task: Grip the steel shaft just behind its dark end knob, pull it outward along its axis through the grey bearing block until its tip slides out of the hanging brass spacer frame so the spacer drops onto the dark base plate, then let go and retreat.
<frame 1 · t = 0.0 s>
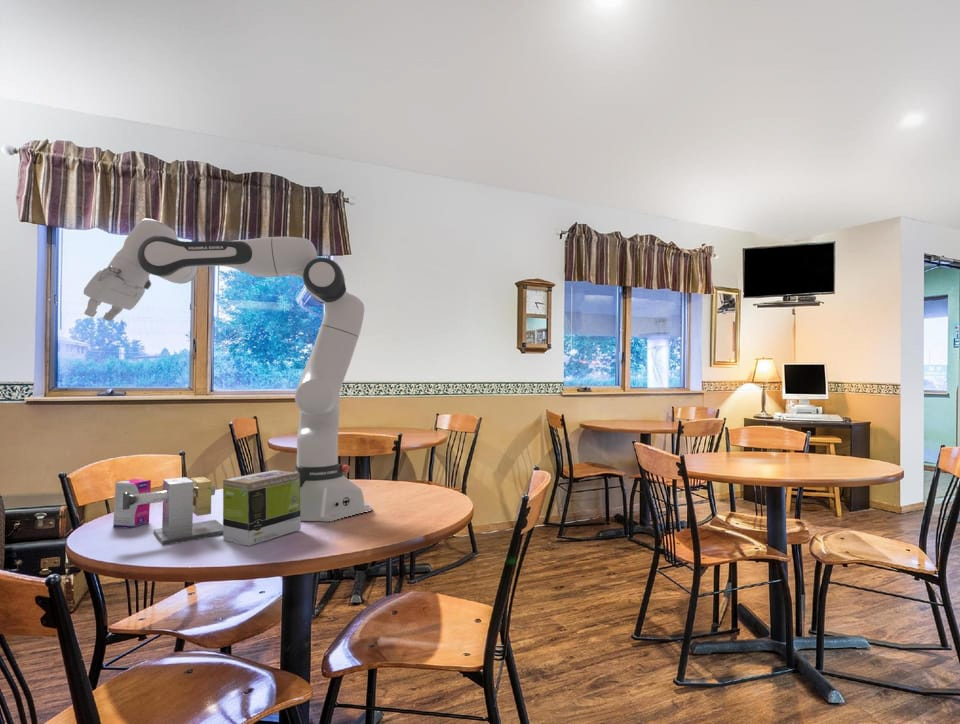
hand: (98, 317, 137), 54 cm above the table, tool tilted 30°, fingers open, 8 cm apart
supplement box: (131, 525, 136), on the table
tea box: (262, 536, 127), on the table
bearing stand: (190, 533, 128), on the table
spacer: (200, 511, 130), point 5 cm above the table, touching shaft
shaft: (170, 495, 126), point 10 cm above the table, slide at 0.0 cm, touching spacer
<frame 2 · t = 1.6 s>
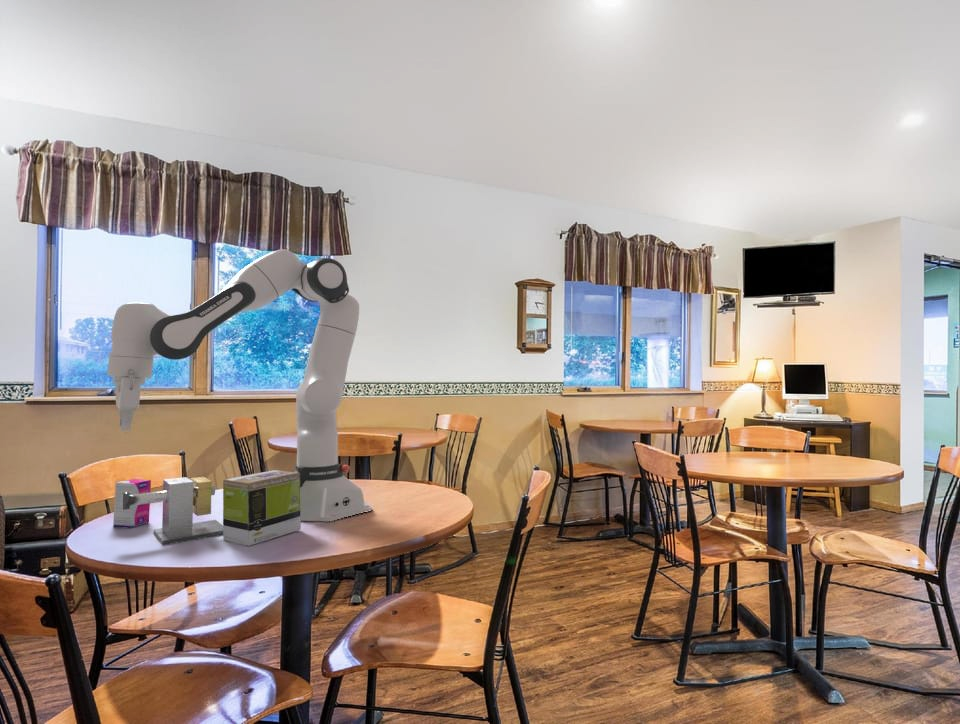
hand: (124, 428, 122), 26 cm above the table, tool pointing down, fingers open, 8 cm apart
nothing on the table moved.
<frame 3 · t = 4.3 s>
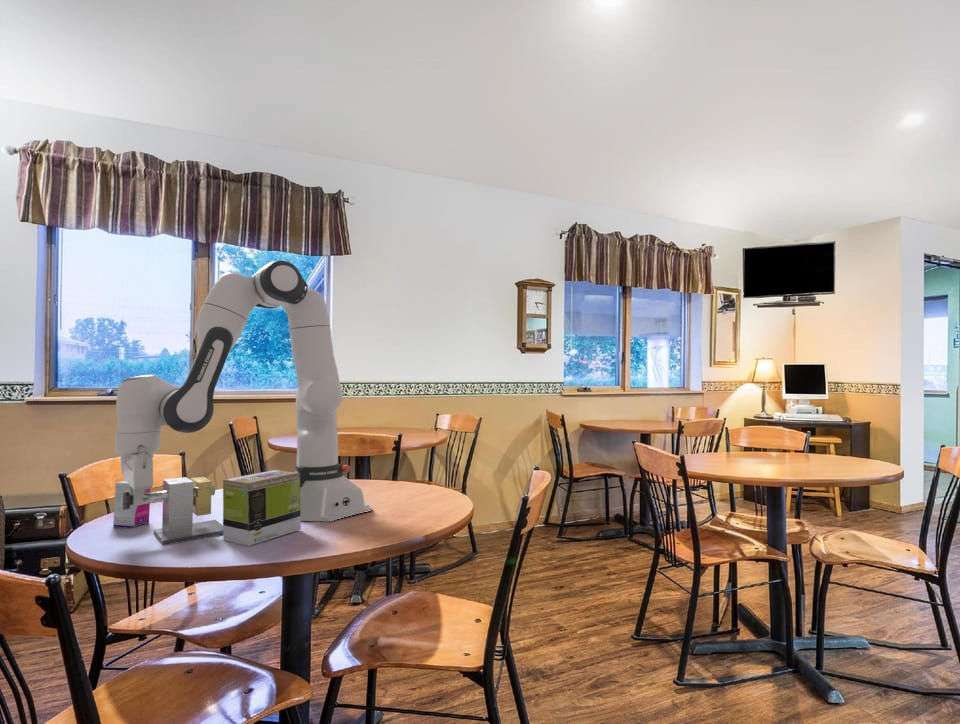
hand: (136, 503, 121), 9 cm above the table, tool pointing down, fingers closed on shaft, 2 cm apart
shaft: (170, 495, 126), point 10 cm above the table, slide at 0.0 cm, touching gripper, spacer
everything else where it was.
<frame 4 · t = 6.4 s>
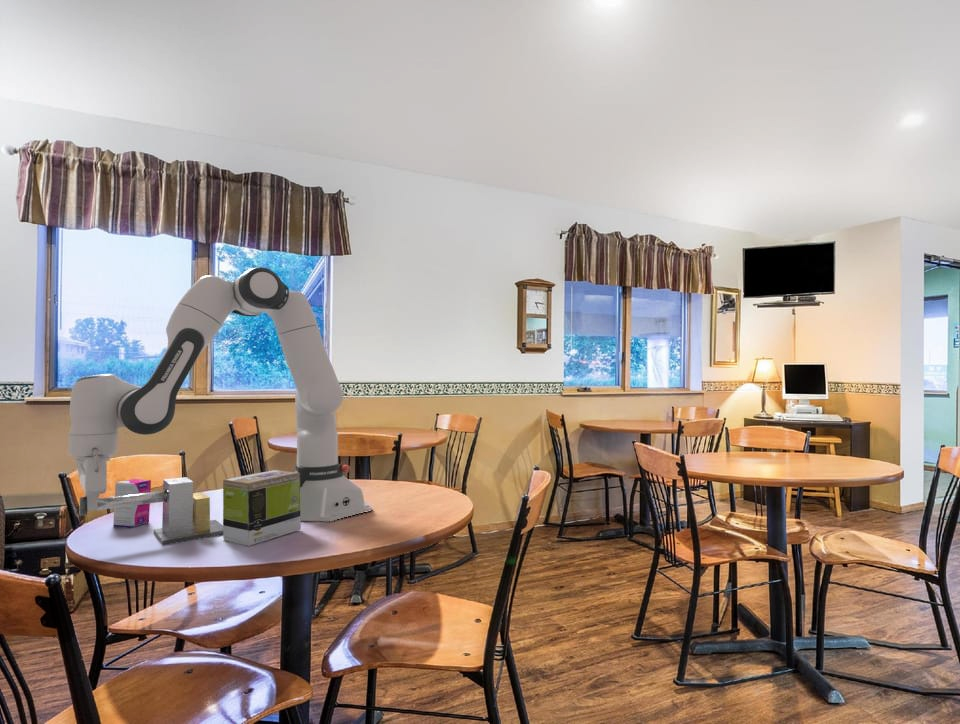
hand: (91, 508, 116), 9 cm above the table, tool pointing down, fingers closed on shaft, 2 cm apart
spacer: (199, 527, 129), point 1 cm above the table, touching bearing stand
shaft: (131, 500, 121), point 10 cm above the table, slide at 7.8 cm, touching gripper
everything else where it was.
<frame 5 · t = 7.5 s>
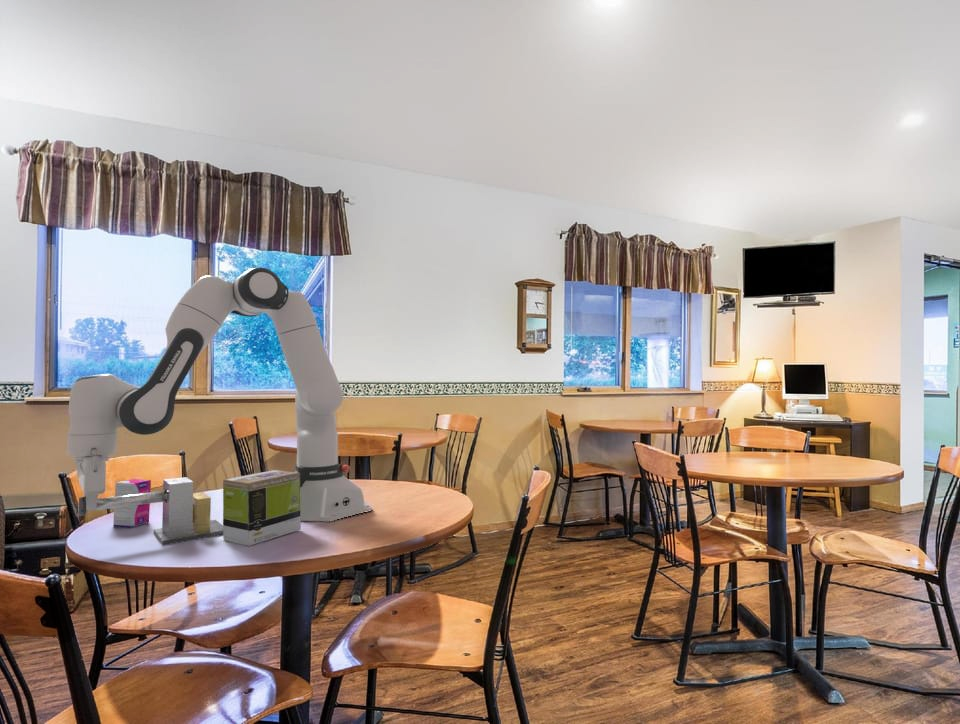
hand: (90, 508, 115), 9 cm above the table, tool pointing down, fingers closed on shaft, 2 cm apart
shaft: (130, 500, 120), point 10 cm above the table, slide at 8.0 cm, touching gripper
everything else where it was.
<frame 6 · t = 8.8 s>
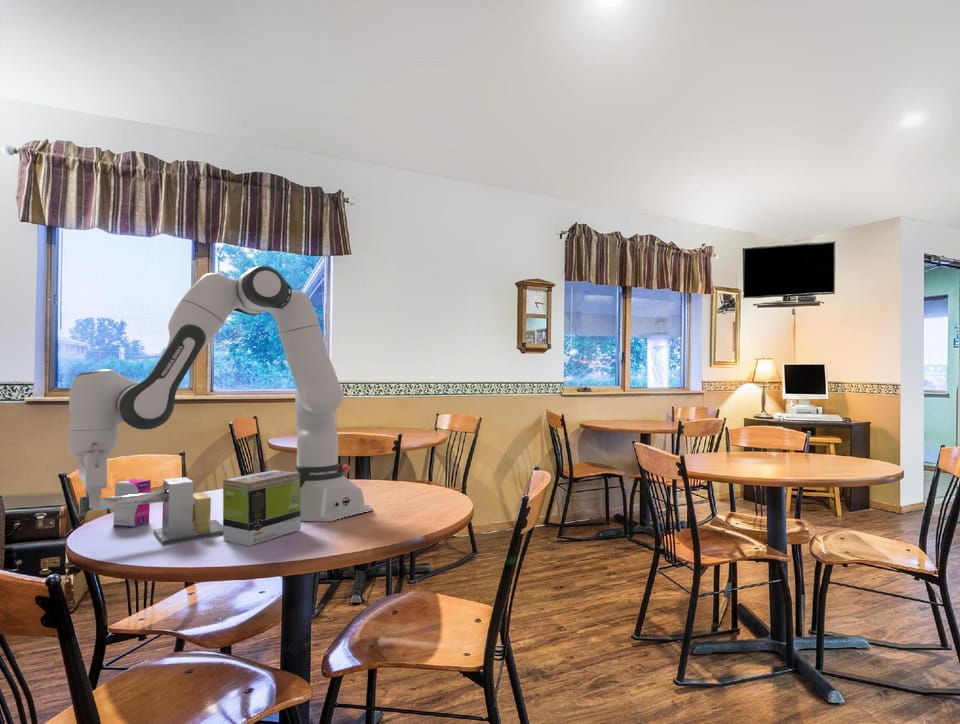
hand: (92, 504, 116), 10 cm above the table, tool pointing down, fingers open, 8 cm apart
shaft: (131, 500, 120), point 10 cm above the table, slide at 7.8 cm
everything else where it was.
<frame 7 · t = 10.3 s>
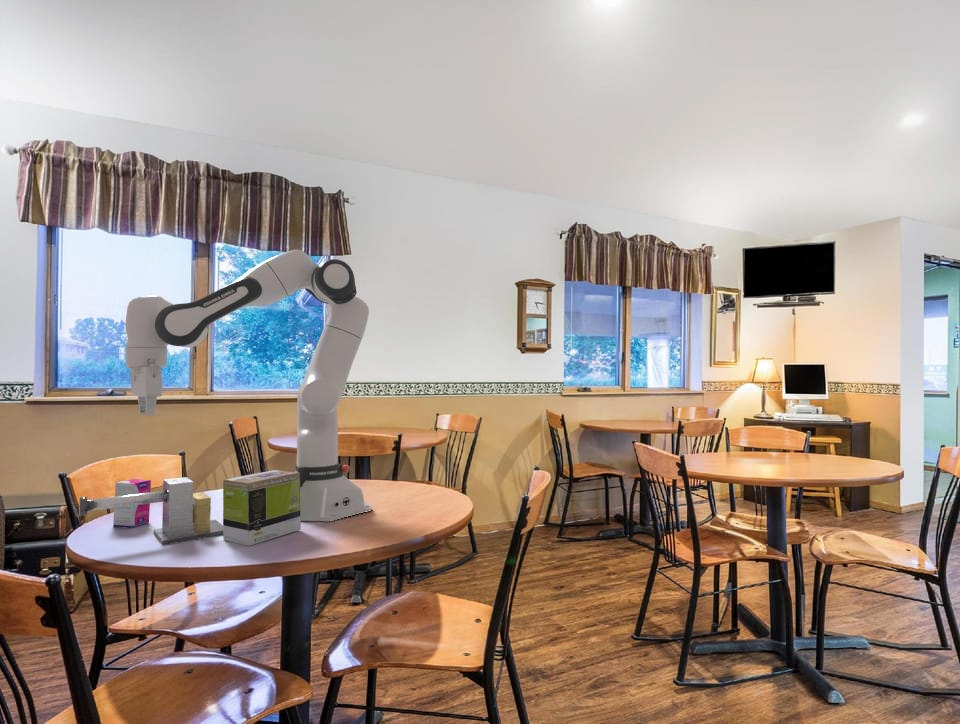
hand: (147, 414, 131), 29 cm above the table, tool pointing down, fingers open, 8 cm apart
nothing on the table moved.
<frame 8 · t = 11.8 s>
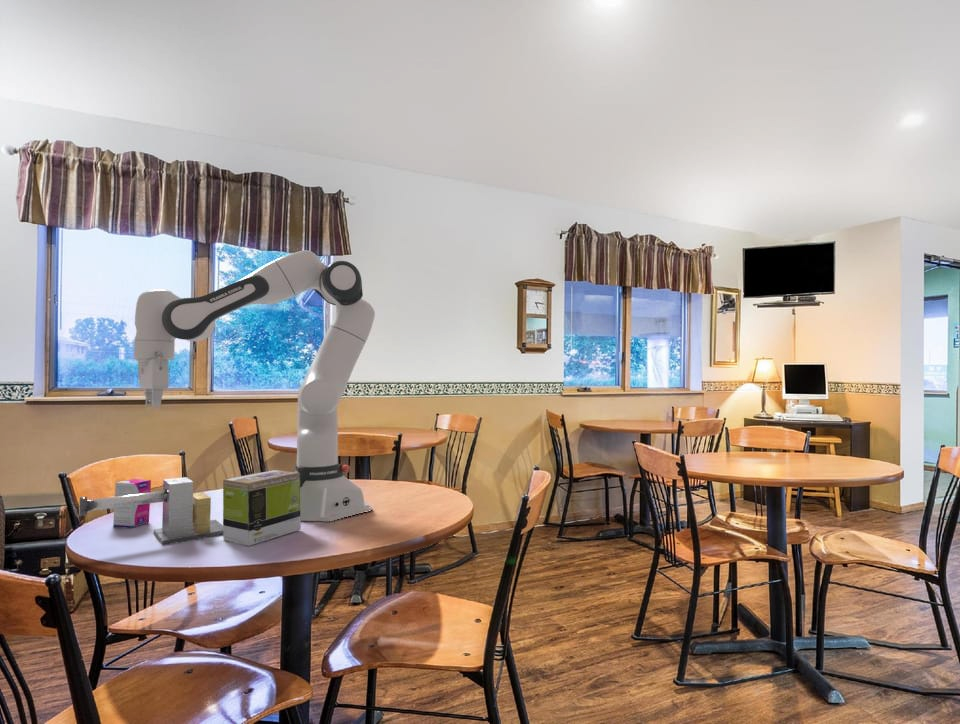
hand: (153, 406, 133), 31 cm above the table, tool pointing down, fingers open, 8 cm apart
nothing on the table moved.
at the end: spacer inside the target area (1.4 cm from its centre), point 1.0 cm above the table; shaft slide at 7.8 cm; the gripper is holding nothing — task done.
